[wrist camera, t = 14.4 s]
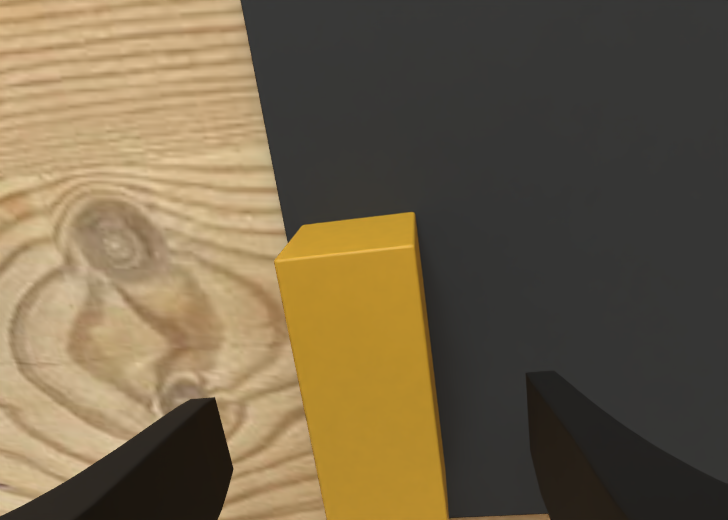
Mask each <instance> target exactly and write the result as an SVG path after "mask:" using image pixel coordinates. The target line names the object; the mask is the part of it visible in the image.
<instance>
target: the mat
mask: <svg viewBox="0 0 728 520" xmlns="http://www.w3.org/2000/svg"><path fill="white" fill-rule="evenodd" d="M241 5H242V10H243V15H244V20H245V25H246V30H247V35H248V41H249V46H250V51H251V56H252V61H253V66H254V71H255V77H256V82H257V87H258V92H259V97H260V102H261V108H262V113H263V118H264V123H265V128H266V133H267V138H268V144H269V149H270V154H271V159H272V164H273V169H274V174H275V180H276V185H277V190H278V195H279V200H280V205H281V210H282V216H283V221H284V226H285V231H286V236H287V241H288V243H289V241H290V240H291V239H292V238H293V236H294V235H295V234H296V233H297V231H298V230H299V229H300V228H301V226H303V225H307V224H316V223H324V222H332V221H341V220H349V219H357V218H366V217H374V216H383V215H391V214H399V213H408V212H414V213H415V216H416V225H417V233H418V241H419V250H420V258H421V267H422V275H423V284H424V292H425V301H426V309H427V318H428V326H429V335H430V343H431V352H432V360H433V369H434V377H435V386H436V394H437V403H438V411H439V420H440V428H441V437H442V445H443V454H444V462H445V472H446V485H447V499H448V512H449V518H459V517H481V516H504V515H527V514H548V511H547V509H546V506H545V504H544V501H543V498H542V495H541V493H540V489H539V485H538V481H537V477H536V473H535V469H534V465H533V461H532V457H531V452H530V440H529V424H528V407H527V391H526V374H525V373H527V372H540V371H553V370H554V371H555V372H557V373H558V374H559V375H560V376H562V377H563V378H564V379H565V380H566V381H568V382H569V383H570V384H571V385H572V386H574V387H575V388H576V389H577V390H578V391H580V392H581V393H582V394H583V395H585V396H586V397H587V398H588V399H590V400H591V401H592V402H593V403H595V404H596V405H597V406H598V407H600V408H601V409H602V410H604V411H605V412H606V413H608V414H609V415H610V416H612V417H613V418H614V419H616V420H617V421H619V422H620V423H622V424H623V425H624V426H626V427H627V428H629V429H630V430H632V431H633V432H635V433H636V434H638V435H639V436H641V437H642V438H644V439H645V440H647V441H648V442H650V443H652V444H653V445H655V446H657V447H658V448H660V449H662V450H663V451H665V452H667V453H668V454H670V455H672V456H674V457H676V458H677V459H679V460H681V461H683V462H685V463H686V464H688V465H690V466H692V467H694V468H696V469H698V470H699V471H701V472H703V473H705V474H707V475H709V476H711V477H713V478H715V479H718V480H720V481H722V482H724V483H726V484H728V0H241Z"/></svg>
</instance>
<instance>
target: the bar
mask: <svg viewBox="0 0 728 520" xmlns="http://www.w3.org/2000/svg"><path fill="white" fill-rule="evenodd" d="M274 264H275V269H276V274H277V279H278V283H279V288H280V293H281V298H282V303H283V308H284V313H285V318H286V323H287V327H288V332H289V337H290V342H291V347H292V352H293V357H294V362H295V367H296V371H297V376H298V381H299V386H300V391H301V396H302V401H303V406H304V411H305V416H306V420H307V425H308V430H309V435H310V440H311V445H312V450H313V455H314V460H315V464H316V469H317V474H318V479H319V484H320V489H321V494H322V499H323V504H324V508H325V513H326V518H327V520H449V512H448V499H447V485H446V472H445V462H444V454H443V445H442V437H441V428H440V420H439V411H438V403H437V394H436V386H435V377H434V369H433V360H432V352H431V343H430V335H429V326H428V318H427V309H426V301H425V292H424V284H423V275H422V267H421V258H420V250H419V241H418V233H417V225H416V216H415V213H414V212H408V213H399V214H391V215H383V216H374V217H366V218H357V219H349V220H341V221H332V222H324V223H316V224H307V225H303V226H301V228H300V229H299V230H298V231H297V233H296V234H295V235H294V236H293V238H292V239H291V240H290V241H289V243H288V244H287V245H286V246H285V248H284V249H283V250H282V252H281V253H280V254H279V255H278V257H277V258H276V259H275V261H274Z"/></svg>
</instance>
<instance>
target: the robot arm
mask: <svg viewBox="0 0 728 520" xmlns="http://www.w3.org/2000/svg"><path fill="white" fill-rule="evenodd" d="M525 374H526V391H527V407H528V424H529V440H530V452H531V457H532V461H533V465H534V469H535V473H536V477H537V481H538V485H539V489H540V493H541V495H542V498H543V501H544V504H545V506H546V509H547V511H548V514H549V517H550V519H551V520H728V484H726V483H724V482H722V481H720V480H718V479H715V478H713V477H711V476H709V475H707V474H705V473H703V472H701V471H699V470H698V469H696V468H694V467H692V466H690V465H688V464H686V463H685V462H683V461H681V460H679V459H677V458H676V457H674V456H672V455H670V454H668V453H667V452H665V451H663V450H662V449H660V448H658V447H657V446H655V445H653V444H652V443H650V442H648V441H647V440H645V439H644V438H642V437H641V436H639V435H638V434H636V433H635V432H633V431H632V430H630V429H629V428H627V427H626V426H624V425H623V424H622V423H620V422H619V421H617V420H616V419H614V418H613V417H612V416H610V415H609V414H608V413H606V412H605V411H604V410H602V409H601V408H600V407H598V406H597V405H596V404H595V403H593V402H592V401H591V400H590V399H588V398H587V397H586V396H585V395H583V394H582V393H581V392H580V391H578V390H577V389H576V388H575V387H574V386H572V385H571V384H570V383H569V382H568V381H566V380H565V379H564V378H563V377H562V376H560V375H559V374H558V373H557V372H555V371H554V370H553V371H540V372H527V373H525ZM232 473H233V465H232V461H231V458H230V454H229V450H228V446H227V442H226V438H225V434H224V431H223V427H222V423H221V419H220V415H219V411H218V407H217V404H216V400H215V397H213V398H201V399H190V400H189V401H187V402H185V403H183V404H181V405H180V406H178V407H177V408H175V409H174V410H172V411H171V412H169V413H168V414H166V415H165V416H163V417H162V418H160V419H159V420H157V421H156V422H155V423H153V424H152V425H150V426H149V427H147V428H146V429H145V430H143V431H142V432H140V433H139V434H137V435H136V436H135V437H133V438H132V439H130V440H129V441H127V442H126V443H125V444H123V445H122V446H120V447H119V448H117V449H116V450H114V451H113V452H111V453H110V454H108V455H107V456H105V457H103V458H102V459H100V460H99V461H97V462H96V463H94V464H93V465H91V466H90V467H88V468H87V469H85V470H84V471H82V472H81V473H79V474H77V475H76V476H74V477H72V478H71V479H69V480H68V481H66V482H64V483H62V484H61V485H59V486H57V487H56V488H54V489H52V490H50V491H48V492H47V493H45V494H43V495H41V496H39V497H38V498H36V499H34V500H32V501H30V502H28V503H27V504H25V505H23V506H21V507H19V508H17V509H15V510H13V511H11V512H9V513H6V514H4V515H2V516H0V520H218V517H219V515H220V513H221V510H222V507H223V504H224V501H225V498H226V494H227V491H228V488H229V484H230V480H231V476H232Z"/></svg>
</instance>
